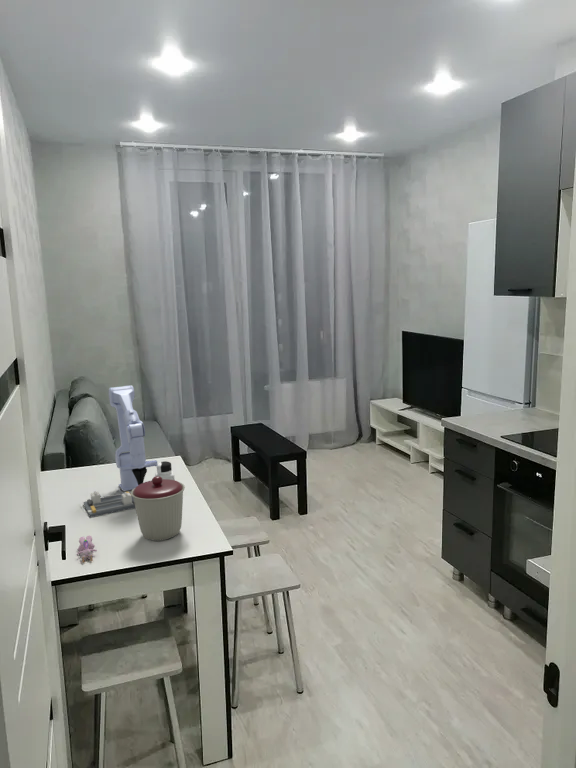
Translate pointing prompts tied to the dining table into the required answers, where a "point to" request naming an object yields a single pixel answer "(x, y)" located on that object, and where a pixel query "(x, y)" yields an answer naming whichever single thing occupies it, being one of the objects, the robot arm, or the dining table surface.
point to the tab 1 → (95, 497)
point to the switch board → (107, 505)
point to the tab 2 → (126, 498)
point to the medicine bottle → (165, 470)
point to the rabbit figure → (86, 548)
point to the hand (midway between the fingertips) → (140, 486)
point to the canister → (159, 507)
